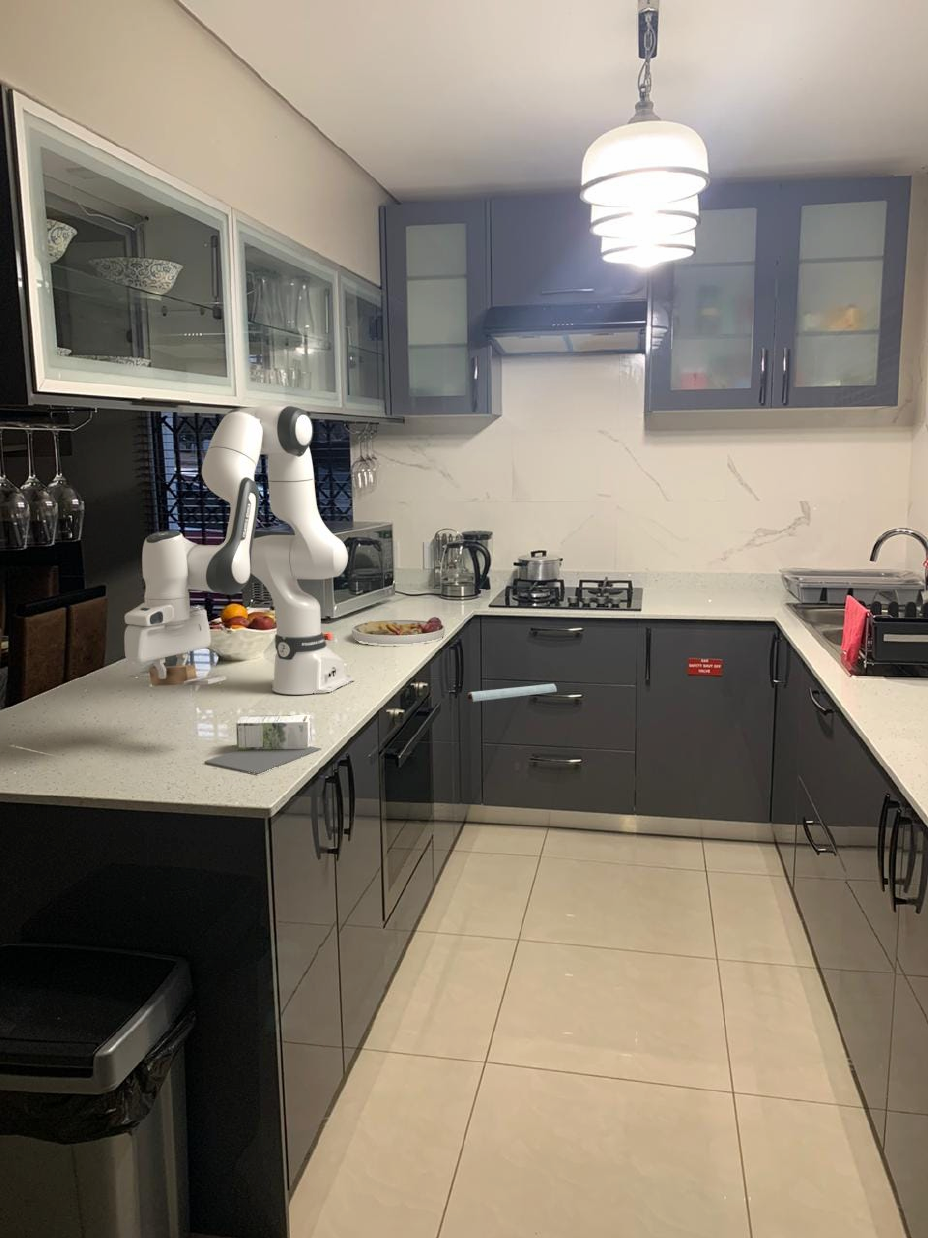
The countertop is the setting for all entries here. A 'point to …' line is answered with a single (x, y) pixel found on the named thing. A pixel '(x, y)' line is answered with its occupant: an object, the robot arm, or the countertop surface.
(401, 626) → the plate of food
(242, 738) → the syrup box
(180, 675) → the tan wooden bar
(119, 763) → the countertop surface
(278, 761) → the mat
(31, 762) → the countertop surface
